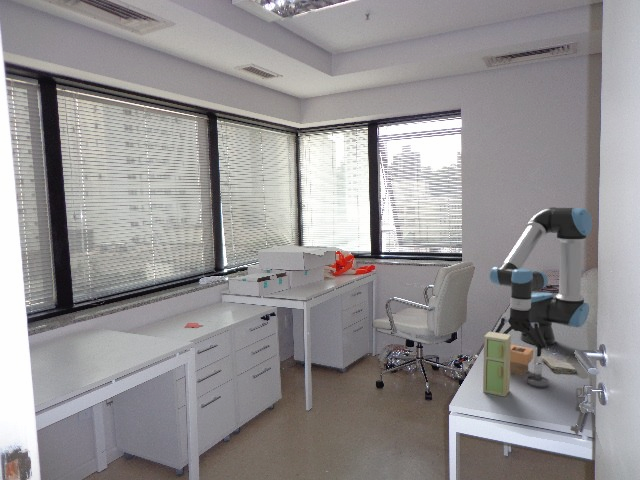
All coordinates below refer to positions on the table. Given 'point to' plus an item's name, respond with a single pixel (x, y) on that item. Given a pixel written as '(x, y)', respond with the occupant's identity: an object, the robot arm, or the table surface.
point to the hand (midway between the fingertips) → (517, 360)
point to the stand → (518, 366)
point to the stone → (558, 365)
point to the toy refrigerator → (496, 363)
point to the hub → (537, 378)
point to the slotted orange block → (521, 355)
